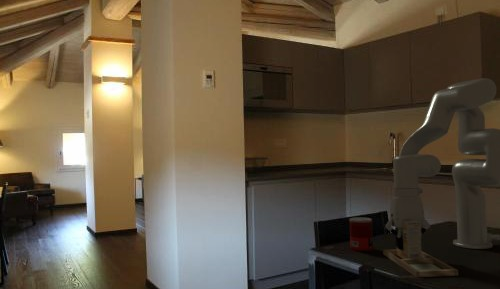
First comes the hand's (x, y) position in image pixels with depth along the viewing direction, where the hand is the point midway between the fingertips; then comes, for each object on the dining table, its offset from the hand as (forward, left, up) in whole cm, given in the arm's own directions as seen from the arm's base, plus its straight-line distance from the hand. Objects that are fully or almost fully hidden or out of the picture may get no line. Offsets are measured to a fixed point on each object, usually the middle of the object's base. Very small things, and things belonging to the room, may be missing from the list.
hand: (408, 248), depth 129 cm
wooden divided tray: (0, +6, -3) cm, 7 cm away
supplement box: (0, 0, -4) cm, 4 cm away
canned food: (+11, -15, -4) cm, 19 cm away
